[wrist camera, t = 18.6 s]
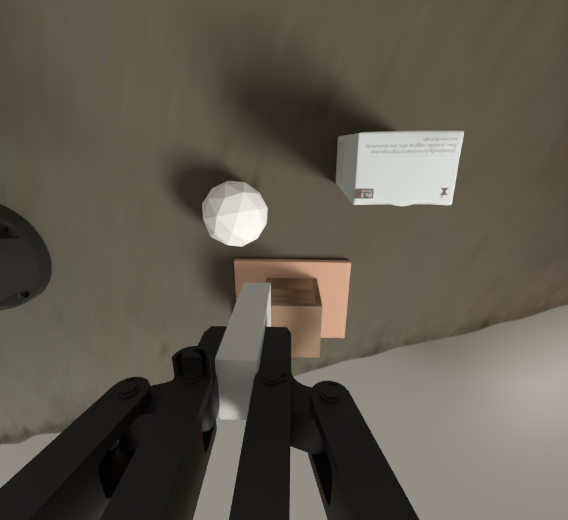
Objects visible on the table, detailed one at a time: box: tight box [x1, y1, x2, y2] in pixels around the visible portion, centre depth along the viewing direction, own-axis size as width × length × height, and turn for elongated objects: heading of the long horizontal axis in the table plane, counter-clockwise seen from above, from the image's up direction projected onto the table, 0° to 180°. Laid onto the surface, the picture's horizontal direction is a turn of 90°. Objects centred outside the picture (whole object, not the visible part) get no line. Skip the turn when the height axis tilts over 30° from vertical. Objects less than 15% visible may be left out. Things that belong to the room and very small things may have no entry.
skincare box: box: [336, 131, 464, 206], centre depth 30 cm, size 8×6×15 cm
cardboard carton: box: [266, 278, 322, 358], centre depth 39 cm, size 7×7×8 cm
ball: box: [202, 181, 268, 247], centre depth 36 cm, size 8×8×8 cm
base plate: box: [234, 258, 351, 338], centre depth 43 cm, size 16×12×1 cm
